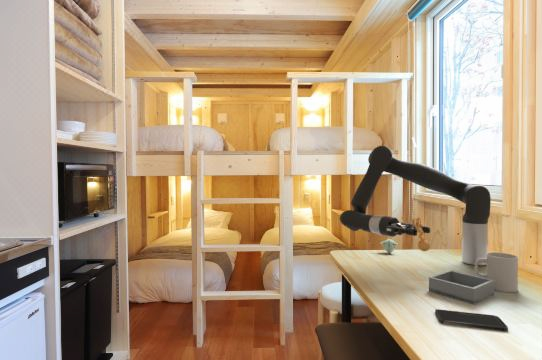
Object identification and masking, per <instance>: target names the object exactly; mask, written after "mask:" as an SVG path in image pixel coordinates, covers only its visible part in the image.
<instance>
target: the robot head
mask: <svg viewBox="0 0 542 360" xmlns="http://www.w3.org/2000/svg"><path fill="white" fill-rule="evenodd" d="M380 245H381V246H382V247H383V248H384V250H385V252H386V253H387V254H391V253H393V252H394V249H396V248H397V247H398V245H399V244H398V242H395V241H394V240H393V239H391V238H387V239H386V240H383V241H381V242H380Z"/></svg>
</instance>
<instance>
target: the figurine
mask: <svg viewBox="0 0 542 360" xmlns="http://www.w3.org/2000/svg"><path fill="white" fill-rule="evenodd" d="M420 220H421V217H420V216H417V217H415V218H412V219H411V223H413V224H414V226H415V228H416V229H417V233H418V234H419V235H418V238H419V239H420V240H418V243H417V249H419V250H420V251H421V252H428V251H429V250H430V248H431V244H430V241H428V240H426V239H425V238H423V237H422V236H423V235H424V234H425V233H424V231H422V229H421V228H422V227H421V225H422V224H421V223H420V222H421V221H420ZM420 224H421V225H420ZM419 226H420V227H421V228H420V227H419Z"/></svg>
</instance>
